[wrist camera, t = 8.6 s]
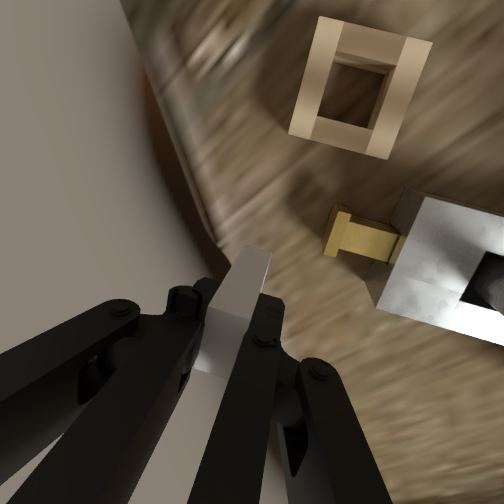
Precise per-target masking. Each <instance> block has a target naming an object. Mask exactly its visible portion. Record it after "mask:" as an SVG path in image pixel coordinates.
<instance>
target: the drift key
mask: <svg viewBox="0 0 504 504" xmlns="http://www.w3.org/2000/svg"><path fill="white" fill-rule="evenodd" d="M400 236H401V233H400V232H399V231H398V230H397V229H396V228H395V227H393V226H390V225H386V224H382V223H379V222H375V221H372V220H368V219H364V218H361V217H357V216H353V215H351V213H350V212H349V210H348V208H347V207H346V205H342V204H339V203H335V202H334V205H333V208H332V211H331V214H330V217H329V220H328V222H327V225H326V228H325V231H324V234H323V237H322V240H321V243H322V248H323V254H325V255H328V256H332V257H335V258H336V255H337V252H338V250H339V249H343V250H346V251H350V252H353V253H357V254H360V255H364V256H367V257H371V258H374V259H378V260H382V261H385V262H389V261H390V259H391V256H392V254H393V252H394V250H395V247H396V245H397V243H398V240H399V238H400Z"/></svg>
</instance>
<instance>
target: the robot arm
mask: <svg viewBox="0 0 504 504" xmlns="http://www.w3.org/2000/svg"><path fill="white" fill-rule="evenodd" d="M271 256H272V252H269V251H265V250H262V249H258V248H255V247H252V246H248V245H244V247H243V249H242V250H241V252H240V254H239V255H238V257H237V259H236V260H235V262H234V264H233V265H232V267H231V269H230V270H229V272H228V273H227V275H226V277H225V279H224V280H223V282H220V281H217V280H214V279H211V278H207V277H204V278H202V279H200V280H198V281H197V282H196V283H195V284H194V286H193V287H192V286H176V287H173V288H171V289H170V290H169V294H168V300H167V306H166V311H165V312H164V313H163V314H162V315H147V314H140V307H139V305H137V304H136V303H135V302H133V301H130V300H126V299H113V300H109V301H106V302H104V303H102V304H100V305H98V306H95V307H93V308H91V309H90V310H88V311H85V312H84V313H81V314H79V315H77V316H75V317H74V318H72V319H69V320H68V321H65V322H64V323H61V324H59V325H58V326H55V327H54V328H52V329H49V330H47V331H46V332H44V333H41V334H39V335H38V336H35V337H34V338H32V339H29V340H27V341H26V342H24V343H21V344H20V345H17V346H16V347H13V348H12V349H9V350H8V351H5V352H4V353H2V354H0V486H1V485H2V484H3V483H4V482H5V481H7V480H8V479H9V478H10V477H11V476H13V475H14V474H15V473H16V472H17V471H19V470H20V469H21V468H22V467H23V466H25V465H26V464H27V463H28V462H29V461H30V460H32V459H33V458H34V457H35V456H37V455H38V454H39V453H40V452H41V451H42V450H43V449H45V448H46V447H47V446H48V445H49V444H51V443H52V442H53V441H54V440H56V439H57V438H58V437H59V436H60V435H62V434H63V433H64V432H65V431H66V430H67V431H66V432H65V433H64V434H63V435H62V437H61V438H60V439H59V440H58V442H57V443H56V444H55V445H54V446H53V448H52V449H51V450H50V451H49V452H48V454H47V455H46V456H45V457H44V458H43V460H42V461H41V462H40V463H39V464H38V466H37V467H36V468H35V469H34V471H33V472H32V473H31V474H30V475H29V477H28V478H27V479H26V480H25V482H24V483H23V484H22V485H21V487H20V488H19V489H18V490H17V491H16V492H15V494H14V495H13V496H12V497H11V498H10V500H9V501H8V502H7V503H6V504H128V502H129V500H130V498H131V496H132V493H133V491H134V489H135V487H136V485H137V483H138V481H139V479H140V477H141V475H142V473H143V471H144V469H145V467H146V465H147V463H148V461H149V459H150V457H151V455H152V453H153V451H154V449H155V447H156V445H157V443H158V441H159V439H160V437H161V435H162V433H163V431H164V429H165V427H166V425H167V423H168V421H169V419H170V416H171V415H172V413H173V411H174V409H175V407H176V405H177V403H178V401H179V398H180V397H181V395H182V393H183V390H184V388H185V386H186V384H187V382H188V380H189V378H190V373H191V369H192V366H193V364H194V362H195V360H196V362H195V367H194V368H195V369H198V370H201V371H204V372H207V373H210V374H213V375H216V376H219V377H223V378H225V379H228V380H229V381H228V384H227V387H226V390H225V393H224V396H223V398H222V401H221V404H220V408H219V410H218V413H217V416H216V419H215V422H214V425H213V428H212V431H211V434H210V437H209V440H208V443H207V446H206V449H205V452H204V454H203V457H202V460H201V463H200V466H199V469H198V472H197V475H196V478H195V481H194V484H193V487H192V490H191V493H190V496H189V499H188V502H187V504H259V500H260V493H261V486H262V478H263V472H264V465H265V457H266V451H267V443H268V436H269V430H270V423H271V418H272V419H273V420H275V421H276V422H278V435H279V442H280V449H281V455H282V462H283V469H284V475H285V482H286V488H287V496H288V503H289V504H393V503H392V501H391V498H390V496H389V493H388V491H387V489H386V486H385V484H384V481H383V479H382V476H381V474H380V472H379V469H378V467H377V464H376V462H375V460H374V457H373V455H372V452H371V450H370V448H369V445H368V443H367V440H366V438H365V436H364V433H363V431H362V428H361V426H360V424H359V421H358V419H357V416H356V414H355V412H354V409H353V407H352V404H351V402H350V400H349V397H348V395H347V392H346V390H345V388H344V385H343V383H342V380H341V378H340V376H339V374H338V372H337V371H336V369H335V368H334V367H333V366H331V365H330V364H329V363H327V362H325V361H324V360H321V359H318V358H305V359H303V360H302V361H301V363H300V362H299V361H297V360H295V359H294V358H292V357H291V356H289V355H288V354H287V353H286V352H285V351H284V350H283V348H282V347H281V341H280V337H281V330H282V323H283V317H284V310H285V305H284V303H283V301H282V299H280V298H276V297H273V296H270V295H266V294H263V293H261V290H262V287H263V283H264V280H265V276H266V273H267V269H268V266H269V262H270V259H271Z"/></svg>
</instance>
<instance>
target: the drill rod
mask: <svg viewBox="0 0 504 504" xmlns="http://www.w3.org/2000/svg"><path fill="white" fill-rule="evenodd" d="M468 286H470V287H471V288H472V289H473V290H474V291H475V292H476V293H477V294H479V295H480V296H481V297H482V298H483V299H484V300H485V301H487V302H488V303H489V304H490V305H491V306H492V307H493V308H494V309H496V310H497V311H498V312H499V313H500V314H501V315H502V316H503V317H504V261H503V260H502V259H500V258H498V257H497V256H495V255H493V254H492V253H490V252H488V251H486V252H485V254H484V256H483V257H482V259H481V261H480V263H479V265H478V266H477V268H476V270H475V272H474V274H473V275H472V277H471V279H470V281H469V283H468Z"/></svg>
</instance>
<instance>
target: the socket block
mask: <svg viewBox="0 0 504 504" xmlns="http://www.w3.org/2000/svg"><path fill="white" fill-rule="evenodd" d="M390 223H391V224H392V225H393V226H394V227H395V228H396V229H397V230H398V231H399V232H400V233H401V236H400V238H399V240H398V243H397V245H396V247H395V250H394V252H393V254H392V256H391V259H390V261H389V262H385V261H382V260H378V259H374V261H373V263H372V265H371V268H370V270H369V272H368V275H367V277H366V280H365V284H366V286H367V289H368V291H369V293H370V296H371V298H372V300H373V303H374V305H375V307H376V308H377V309H381V310H384V311H388V312H391V313H395V314H398V315H401V316H405V317H408V318H412V319H415V320H419V321H422V322H425V323H429V324H432V325H436V326H439V327H443V328H446V329H449V330H453V331H456V332H460V333H463V334H467V335H470V336H473V337H477V338H480V339H484V340H487V341H491V342H494V343H497V344H501V345H504V317H503V316H502V315H501V314H500V313H499V312H498V311H497V310H496V309H494V308H493V307H492V306H491V305H490V304H489V303H488V302H487V301H485V300H484V299H483V298H482V297H481V296H480V295H479V294H477V293H476V292H475V291H474V290H473V289H472V288H471V287H470V286H468V283H469V281H470V279H471V277H472V275H473V274H474V272H475V270H476V268H477V266H478V265H479V263H480V261H481V259H482V257H483V256H484V254H485V252H486V251H488V252H492V253H496V254H499V255H498V258H500V259H502V260H503V261H504V213H501V212H497V211H494V210H490V209H486V208H482V207H479V206H475V205H471V204H467V203H464V202H460V201H456V200H452V199H449V198H445V197H441V196H437V195H434V194H430V193H426V192H422V191H418V190H415V189H411V188H407V187H404V189H403V191H402V193H401V196H400V198H399V201H398V203H397V205H396V208H395V210H394V213H393V215H392V217H391V220H390Z"/></svg>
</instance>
